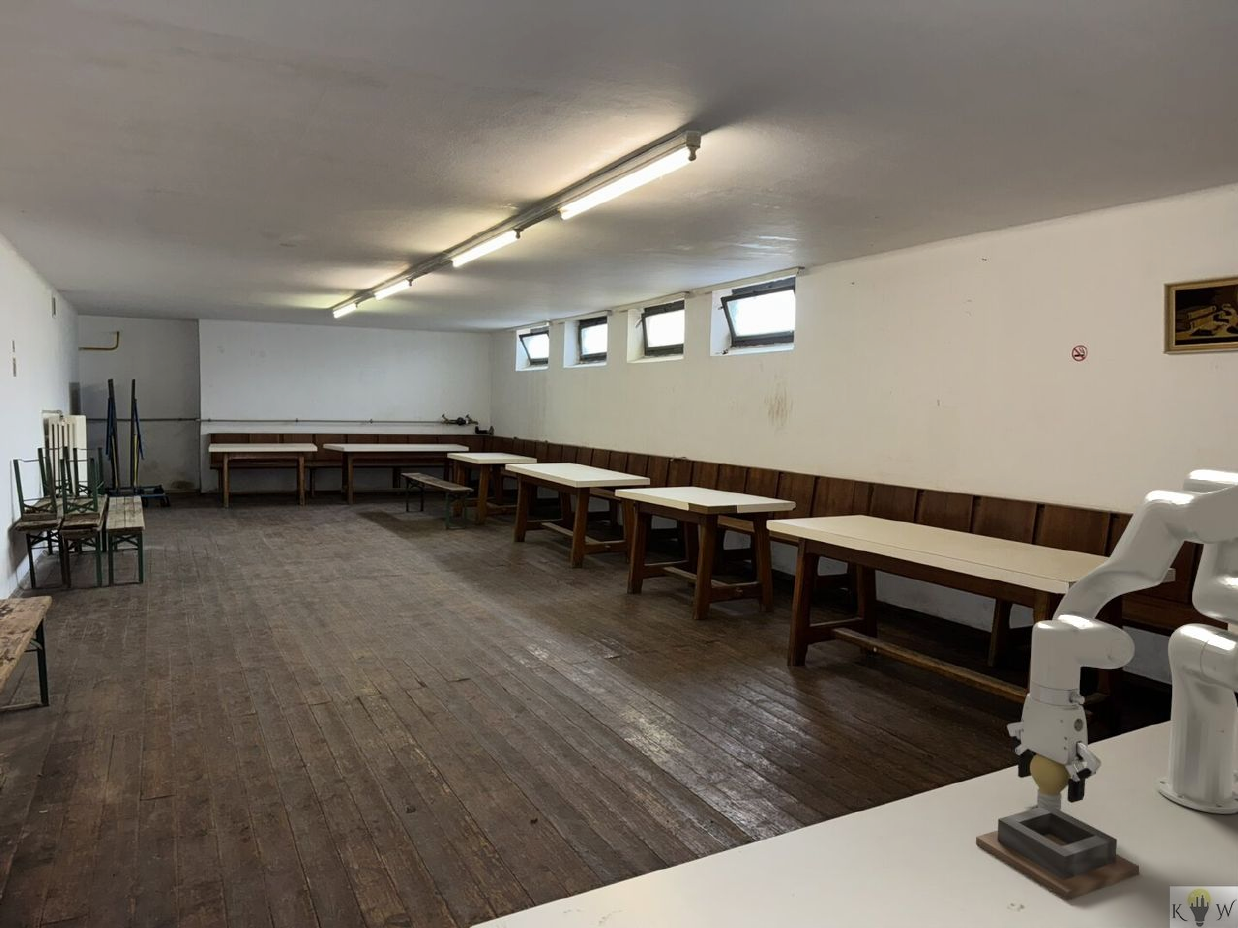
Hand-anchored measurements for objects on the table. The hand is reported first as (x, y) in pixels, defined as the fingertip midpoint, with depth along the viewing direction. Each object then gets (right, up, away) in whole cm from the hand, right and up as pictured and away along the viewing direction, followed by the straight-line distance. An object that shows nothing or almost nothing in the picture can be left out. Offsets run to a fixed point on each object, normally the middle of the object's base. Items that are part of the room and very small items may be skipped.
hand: (1049, 787), depth 139 cm
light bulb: (0, -4, 0) cm, 4 cm away
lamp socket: (-7, -5, -15) cm, 17 cm away
